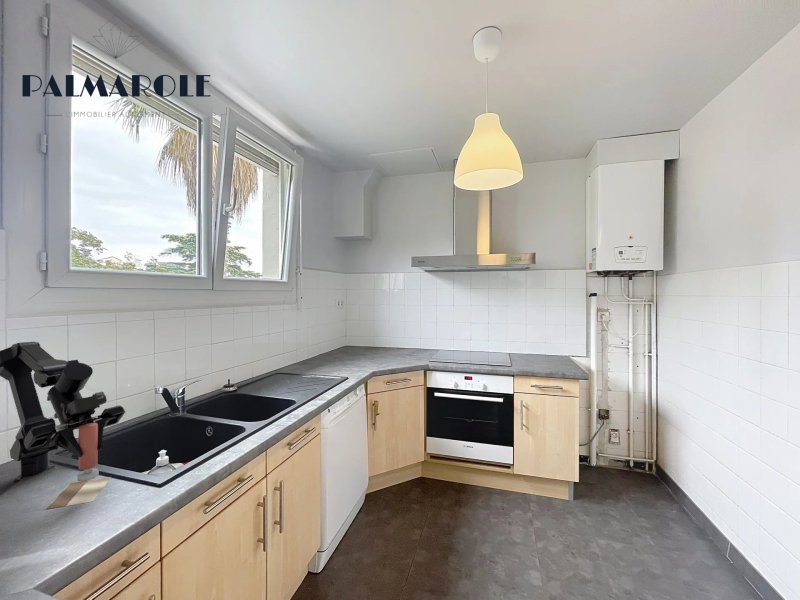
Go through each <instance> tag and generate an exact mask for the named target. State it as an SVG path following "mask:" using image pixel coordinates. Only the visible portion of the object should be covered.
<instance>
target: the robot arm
mask: <svg viewBox="0 0 800 600" xmlns="http://www.w3.org/2000/svg"><path fill="white" fill-rule="evenodd" d="M32 372H33V376H32ZM93 372H94V371H93V368H92V367H91V366H90V365H88V364H86V363H83V362H80V361H79V360H78V359H74V360H73V359H72V360H68V361H67V360H63V359H56V358H54V357H53V356H52V355H51V354H50V353H48V352H47V351H46V350H45V349H44V348H42V346H41V344H40V342H38V341H23V342H17V343H13V344H11V346H9V347H8V348H7V347H6V348H3V349H2V350H0V377H1V378H2V379H5V380H6V381H7V382H8V383H9V387H10V390H11V394H12V397H13V401H14V404H15V405H14V406H15V409H16V412H17V415H18V418H19V422H20V427H19V429H18V431H17V433H16V435H15V441H14V442H13V444H12V446H11V448H10V449H9V454H10V455H9V457H10V458H11V460H12V459H13V460H14V461H16V462H20V463H19V464H20V465H19V468H20V470H19V471H20V474H19V475H18V476H16V477H15V478H14V479H13V480H12V482H13V483H16V482H20V481H21V480H22V479H24V478H26V477H27V478H28V477H33V476H36V475H38V474H40V473H43V472H45V471H50V470H54V469H55V468H56V465H50V452H52V451H57V450H59V448H61V449H63V450H66V451H68V452H69V453H71V454H73V455H75V456H76V457H78V458H79V457H82V456H83V453H82V450H81V448H80V446H79V441H77V438H76V437H75V433H74V431H75V430H79V426H81V425H84V424H89V423H97V424H98V451H99V452H100V451H102V450H103V440H104V439H103V436H104V435H103V434H104V428H106V427H110V426H114V425H116V424H118V423H119V422H120V420H121V419H122V418H123V416H124V415H125V413H126V410H125V408H124V407H123V406H122V405H116V406H111V407H107V408H104V409H103V411H102V412H101V414H100V415H96V416H92V415H94V414H95V413H96V410H95V409H98V408H100V407H101V405H104V404H106V402H107V396H106V394H105V392H104V391H99V392H95V393H93V394H92V395H91V396H88V397H87V396H86V397H83V396H82V393H81V391H82V390H83V389H84V388H85V387H86V384H87V383H88V382H89V380H90V379H91V377H92V374H93ZM35 385H37V386H38V387H40V388H41V389H43V388H48V387H51V388H50V389H48V391H47V397H46V400H47V401H48V402H50V404H51V406H52V408H53V410H54V412H55V413H54V415H53V416H54V418H52V417H51V418H48V417H46V416H45V414H44V413H43V410H42V405H41V402H40V398H39V396H38V393H37V389H36V386H35ZM56 419H58V421H59V424H56Z"/></svg>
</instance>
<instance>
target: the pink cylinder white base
mask: <svg viewBox="0 0 800 600" xmlns="http://www.w3.org/2000/svg"><path fill="white" fill-rule="evenodd" d="M78 444H79V446H80V448H81V450H82V453H83V456H82V457H78V470H80V472H78V474H77V476H76V477H77V478H76V479H77V482H80V481H87V480H88V481H89V480H94V479H95V478H97V477H99V468H97V466H98V463H99V460H98V459H99V458H98V456H99V455H98V454H99V453H98V451H99V450H98V424H97V423H89V424H84V425H81V426H79V429H78ZM95 467H96V468H95Z"/></svg>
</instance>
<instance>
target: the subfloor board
mask: <svg viewBox="0 0 800 600" xmlns="http://www.w3.org/2000/svg"><path fill="white" fill-rule="evenodd" d="M111 479H112V476H109V477H103V478H97V479H95V478H94V479H91V480H87V481H75V482H70V483H69V484H68V485H66V487H65V488H64V489H63V490H62V491H61V492H60V493H59V494H58V495H57V497H55V498H54V499H53V501H51V503H49V505H48V506H46V508H45V509H44V510H45V511H47V510H52V509H57V508H63V507H68V506H74V505H80V504H85V503H90V502H91V503H93V502H94V501H95V500H96V498H97V497H98V495H99V494H100V493H101V492H102V490H103V489H104V488H105V486H106V485H107V484H108V483H109V481H110V480H111Z"/></svg>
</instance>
